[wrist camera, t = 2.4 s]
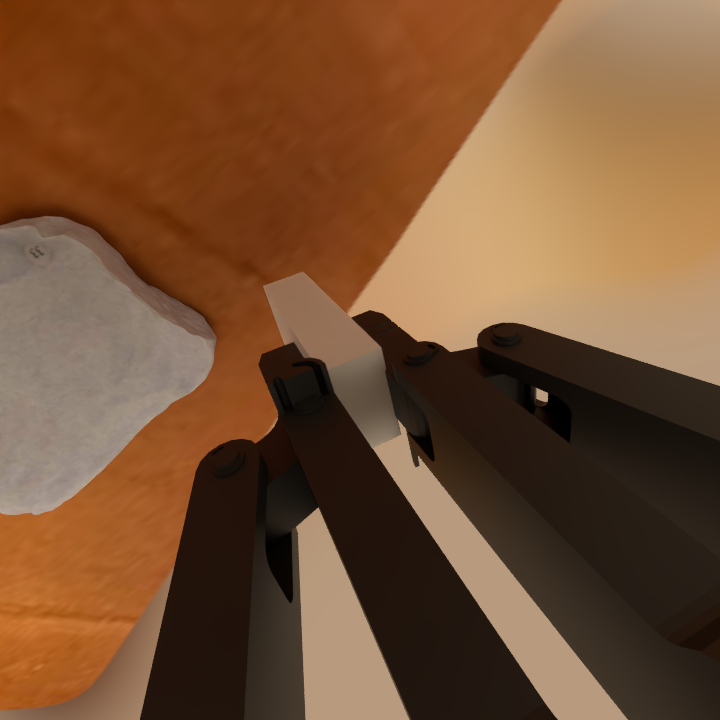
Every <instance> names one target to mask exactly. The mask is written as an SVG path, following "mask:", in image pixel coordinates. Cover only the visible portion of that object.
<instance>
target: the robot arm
mask: <svg viewBox="0 0 720 720" xmlns="http://www.w3.org/2000/svg"><path fill="white" fill-rule="evenodd" d="M263 288H264V291H265V293H266V296H267V299H268V301H269V304H270V307H271V310H272V312H273V315H274V318H275V320H276V323H277V326H278V329H279V331H280V334H281V337H282V339H283V342H284V346H282V347H279V348H277V349H274V350H272V351H269V352H267V353H264V354H262V356H261V359H260V362H259V367H260V370H261V372H262V375H263V377H264V379H265V382H266V384H267V386H268V389H269V391H270V394H271V396H272V398H273V401H274V403H275V406H276V408H277V410H278V420H277V422H276V424H275V426H274V428H273V429H272V430H271V431H270V432H269V433H268V434H267V435H266V436H265V437H264V438H263V439H261V440H260V441H258V442H257V443H256V444H255V443H254V442H253V441H251V440H246V439H238V440H231V441H228V442H226V443H223V444H221V445H219V446H217V447H216V448H214V449H213V450H212V451H210V452H209V453H208V454H207V455H206V456H205V457H204V458H203V459H202V460H201V461H200V464H199V466H198V468H197V470H196V473H195V478H194V482H193V487H192V491H191V496H190V500H189V504H188V509H187V513H186V518H185V522H184V527H183V531H182V535H181V540H180V544H179V549H178V553H177V558H176V562H175V566H174V571H173V575H172V580H171V584H170V589H169V593H168V598H167V602H166V607H165V611H164V615H163V620H162V624H161V628H160V633H159V638H158V642H157V646H156V651H155V655H154V659H153V664H152V669H151V673H150V677H149V682H148V686H147V690H146V695H145V699H144V704H143V708H142V713H141V717H140V720H305V701H304V676H303V652H302V628H301V603H300V579H299V557H298V555H299V554H298V532H297V529H296V526H297V525H298V524H299V523H301V522H302V521H303V520H304V519H305V518H307V517H308V516H309V515H310V514H311V513H312V512H313V511H314V510H316V509H317V508H318V507H319V509H320V512H321V514H322V516H323V519H324V521H325V523H326V526H327V528H328V530H329V533H330V535H331V537H332V540H333V542H334V544H335V547H336V549H337V551H338V554H339V556H340V558H341V561H342V563H343V565H344V568H345V570H346V573H347V575H348V577H349V579H350V582H351V584H352V587H353V589H354V591H355V594H356V596H357V598H358V600H359V603H360V605H361V607H362V610H363V612H364V615H365V617H366V619H367V622H368V624H369V626H370V629H371V631H372V633H373V635H374V638H375V640H376V642H377V645H378V647H379V650H380V652H381V654H382V657H383V659H384V661H385V663H386V666H387V668H388V670H389V673H390V675H391V678H392V680H393V682H394V684H395V687H396V689H397V692H398V694H399V696H400V699H401V701H402V703H403V706H404V708H405V710H406V713H407V715H408V717H409V720H558V719H557V718H556V717H555V716H554V715H553V713H552V712H551V711H550V709H549V708H548V707H547V705H546V704H545V702H544V701H543V699H542V698H541V696H540V695H539V694H538V692H537V691H536V689H535V688H534V686H533V685H532V683H531V682H530V680H529V679H528V677H527V676H526V675H525V673H524V672H523V670H522V669H521V667H520V665H519V664H518V662H517V661H516V660H515V658H514V657H513V655H512V654H511V652H510V651H509V649H508V648H507V646H506V645H505V643H504V642H503V640H502V639H501V637H500V636H499V635H498V633H497V631H496V630H495V629H494V627H493V626H492V624H491V623H490V621H489V620H488V619H487V617H486V615H485V614H484V612H483V611H482V610H481V608H480V607H479V605H478V603H477V602H476V600H475V599H474V598H473V596H472V595H471V593H470V592H469V590H468V589H467V587H466V586H465V584H464V583H463V581H462V580H461V578H460V577H459V575H458V574H457V572H456V571H455V570H454V568H453V567H452V565H451V564H450V562H449V561H448V559H447V558H446V556H445V555H444V553H443V552H442V550H441V549H440V547H439V546H438V544H437V543H436V542H435V540H434V539H433V537H432V536H431V534H430V533H429V531H428V530H427V528H426V527H425V525H424V524H423V522H422V521H421V519H420V518H419V516H418V515H417V514H416V512H415V510H414V509H413V508H412V506H411V505H410V503H409V502H408V500H407V499H406V497H405V496H404V494H403V493H402V491H401V490H400V488H399V487H398V486H397V484H396V482H395V481H394V480H393V478H392V477H391V475H390V474H389V472H388V471H387V469H386V468H385V466H384V465H383V463H382V462H381V460H380V459H379V457H378V456H377V454H376V453H375V452H374V450H373V449H372V448H374V447H376V446H378V445H380V444H382V443H384V442H386V441H389V440H391V439H393V438H395V437H397V436H399V435H401V432H400V427H399V423H398V420H399V421H400V422H401V423H402V425H403V426H404V427H405V428H406V431H407V436H408V441H409V445H410V450H411V454H412V459H413V462H414V465H415V467H418V466H419V461H418V456H419V457H420V458H421V459H422V461H423V462H424V463H425V465H426V466H427V467H428V468H429V470H430V471H431V472H432V473H433V475H434V476H435V477H436V478H437V479H438V481H439V482H440V483H441V485H442V486H443V487H444V488H445V490H446V491H447V492H448V493H449V495H450V496H451V497H452V498H453V500H454V501H455V502H456V504H457V505H458V506H459V507H460V508H461V510H462V511H463V512H464V514H465V515H466V516H467V517H468V519H469V520H470V521H471V522H472V524H473V525H474V526H475V527H476V529H477V530H478V531H479V532H480V534H481V535H482V536H483V537H484V539H485V540H486V541H487V543H488V544H489V545H490V546H491V548H492V549H493V550H494V551H495V553H496V554H497V555H498V556H499V558H500V559H501V560H502V562H503V563H504V564H505V565H506V567H507V568H508V569H509V570H510V572H511V573H512V574H513V575H514V577H515V578H516V579H517V580H518V582H519V583H520V584H521V585H522V587H523V588H524V589H525V590H526V592H527V593H528V594H529V595H530V597H531V598H532V599H533V601H534V602H535V603H536V604H537V606H538V607H539V608H540V609H541V611H542V612H543V613H544V614H545V616H546V617H547V618H548V619H549V621H550V622H551V623H552V625H553V626H554V627H555V628H556V629H557V631H558V632H559V633H560V635H561V636H562V637H563V638H564V640H565V641H566V642H567V643H568V645H569V646H570V647H571V648H572V650H573V651H574V652H575V653H576V655H577V656H578V657H579V658H580V660H581V661H582V662H583V664H584V665H585V666H586V667H587V668H588V670H589V671H590V672H591V674H592V675H593V676H594V677H595V679H596V680H597V681H598V682H599V684H600V685H601V686H602V688H603V689H604V690H605V691H606V693H607V694H608V695H609V696H610V698H611V699H612V700H613V701H614V703H615V704H616V705H617V706H618V708H619V709H620V710H621V711H622V713H623V714H624V715H625V716H626V718H627V719H628V720H720V386H718V385H715V384H712V383H708V382H705V381H702V380H699V379H695V378H692V377H689V376H686V375H683V374H679V373H676V372H673V371H670V370H666V369H664V368H660V367H657V366H654V365H651V364H648V363H644V362H641V361H638V360H635V359H632V358H629V357H625V356H622V355H619V354H615V353H612V352H609V351H606V350H603V349H600V348H597V347H593V346H590V345H587V344H584V343H581V342H577V341H574V340H571V339H568V338H565V337H561V336H558V335H555V334H551V333H549V332H545V331H542V330H539V329H536V328H532V327H530V326H526V325H523V324H517V323H499V324H495V325H492V326H489V327H488V328H485V329H483V330H482V331H481V332H480V333H479V334H478V338H477V345H478V347H475V348H470V349H466V350H461V351H455V352H449V351H448V350H447V349H445V348H444V347H443V346H441V345H439V344H437V343H435V342H428V341H423V342H417V341H416V340H415V339H413V338H412V337H411V336H410V335H409V334H407V333H406V332H405V331H404V330H402V329H401V328H400V327H398V326H397V325H396V324H395V323H394V322H392V321H391V320H390V319H389V318H388V317H386V316H385V315H384V314H382V313H378V312H375V311H371V310H370V311H367V312H364V313H362V314H359V315H357V316H354V317H352V318H350V316H348V315H347V314H346V313H345V312H344V311H343V310H342V309H341V308H340V307H339V306H338V305H337V304H336V303H335V302H334V301H333V300H332V299H331V298H330V297H329V296H328V295H327V294H326V293H325V292H324V291H323V290H322V289H321V288H320V287H319V286H318V285H317V284H316V283H315V282H314V281H312V280H311V279H310V278H309V277H308V276H307V275H306V274H305V273H304V272H300V273H297V274H295V275H292V276H289V277H286V278H284V279H281V280H278V281H275V282H272V283H270V284H267V285H264V286H263ZM536 388H538V389H540V390H543V391H545V392H547V393H548V402H543V401H540V400H538V399H536Z"/></svg>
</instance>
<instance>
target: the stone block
mask: <svg viewBox="0 0 720 720" xmlns="http://www.w3.org/2000/svg"><path fill="white" fill-rule="evenodd" d="M216 340H217V337H216V335H215V334H214V332H213V331H212V329H211V328H210V326H209V325H208V324H207V322H206V320H205V319H204V317H203V316H202V315H200V314H199V313H197V312H196V311H195V310H193V309H192V308H190V307H188V306H186V305H184V304H182V303H181V302H180V301H178V300H176V299H174V298H172V297H170V296H168V295H167V294H166V293H164V292H163V291H161V290H159V289H158V288H156V287H154V286H150V285H148V284H146V283H145V282H144V281H143V280H141V279H140V278H139V277H137V275H136V274H135V273H134V271H133V270H132V269H131V268H130V267H129V266H128V264H127V263H126V262H125V260H124V259H123V257H122V256H121V254H120V253H118V252H117V251H116V250H115V249H114V248H113V247H112V246H110V245H109V244H108V243H107V242H106V241H105V240H104V239H103V238H102V237H101V235H100V234H99V233H97V232H96V231H95V230H94V229H92V228H90V227H88V226H85V225H81V224H78V223H76V222H74V221H72V220H70V219H68V218H64V217H58V216H42V217H39V218H31V219H21V220H17V221H14V222H11V223H7V224H4V225H1V226H0V513H2V514H6V515H18V514H23V513H30V512H31V513H32V514H33V515H39V514H41V513H43V512H47V511H52V510H54V509H55V508H56V507H58V506H60V505H61V504H62V503H63V502H65V501H67V500H68V499H71V498H72V497H73V496H74V495H75V494H77V493H78V492H79V491H80V490H81V489H82V488H84V487H85V486H86V485H87V484H88V483H89V482H90V481H91V480H92V479H93V478H94V477H95V476H96V475H97V474H99V473H100V472H101V471H102V470H103V469H104V468H105V467H106V466H107V465H108V464H109V463H110V462H111V461H112V460H113V459H114V458H115V457H116V456H117V455H118V454H119V453H120V452H121V451H122V450H123V449H124V448H125V446H126V445H127V444H128V443H129V442H130V441H131V440H132V439H133V438H134V436H135V435H136V434H137V433H138V432H139V431H140V430H141V429H142V428H143V427H144V426H145V425H146V424H148V423H149V422H150V421H151V420H152V419H153V418H154V417H156V416H157V415H158V414H160V413H161V412H163V411H164V410H165V409H166V408H167V407H168V406H169V405H170V404H171V403H173V402H174V401H176V400H178V399H180V398H182V397H184V396H186V395H188V394H190V393H191V392H192V391H193V390H195V389H196V388H197V387H198V386H199V385H200V384H201V383H202V382H203V381H204V380H205V379H206V377H207V375H208V374H209V372H210V370H211V368H212V365H213V361H214V350H215V345H216Z"/></svg>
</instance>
